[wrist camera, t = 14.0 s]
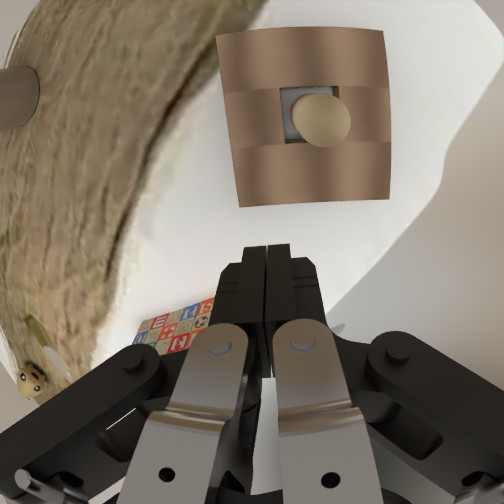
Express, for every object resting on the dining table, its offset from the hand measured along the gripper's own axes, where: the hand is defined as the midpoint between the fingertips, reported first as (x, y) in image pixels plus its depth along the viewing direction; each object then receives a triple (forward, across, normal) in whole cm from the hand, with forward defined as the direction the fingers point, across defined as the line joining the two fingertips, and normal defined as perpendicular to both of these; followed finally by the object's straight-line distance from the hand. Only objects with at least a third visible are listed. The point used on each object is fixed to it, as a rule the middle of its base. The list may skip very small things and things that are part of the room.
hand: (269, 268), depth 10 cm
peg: (+23, -4, -3) cm, 23 cm away
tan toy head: (+24, +74, +48) cm, 92 cm away
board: (+22, -4, -4) cm, 23 cm away
